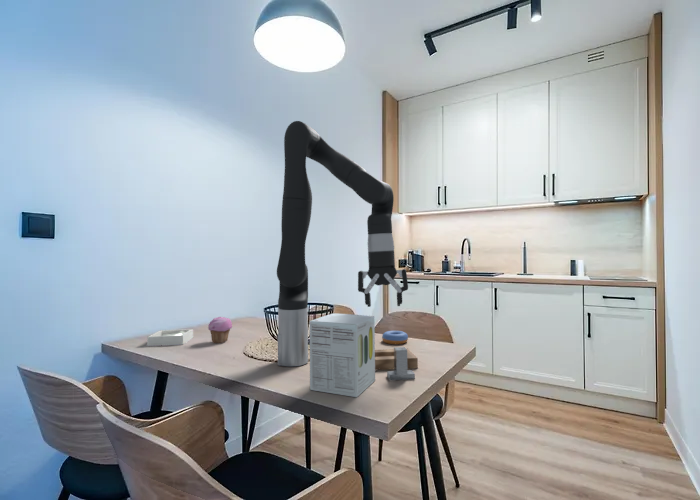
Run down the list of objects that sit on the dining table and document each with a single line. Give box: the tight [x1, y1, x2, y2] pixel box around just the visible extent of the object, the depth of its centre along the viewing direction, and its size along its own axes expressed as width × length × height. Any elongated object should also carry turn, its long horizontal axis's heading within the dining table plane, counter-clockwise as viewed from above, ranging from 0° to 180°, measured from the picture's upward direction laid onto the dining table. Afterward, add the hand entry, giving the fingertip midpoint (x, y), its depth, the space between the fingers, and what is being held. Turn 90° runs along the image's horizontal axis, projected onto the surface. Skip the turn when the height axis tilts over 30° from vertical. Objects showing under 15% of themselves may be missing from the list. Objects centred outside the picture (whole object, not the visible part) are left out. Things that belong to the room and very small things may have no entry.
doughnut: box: [381, 330, 409, 345], centre depth 141 cm, size 10×10×5 cm
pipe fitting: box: [163, 331, 185, 336], centre depth 145 cm, size 8×4×7 cm
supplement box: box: [309, 312, 376, 398], centre depth 95 cm, size 13×13×18 cm
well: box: [375, 348, 419, 371], centre depth 112 cm, size 20×11×3 cm, turn 96°
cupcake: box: [207, 316, 233, 344], centre depth 143 cm, size 9×9×10 cm
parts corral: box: [146, 328, 194, 347], centre depth 145 cm, size 13×12×4 cm
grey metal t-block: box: [386, 346, 416, 381], centre depth 100 cm, size 7×3×8 cm, turn 96°
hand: (384, 306), depth 105 cm, fingers open, 8 cm apart
